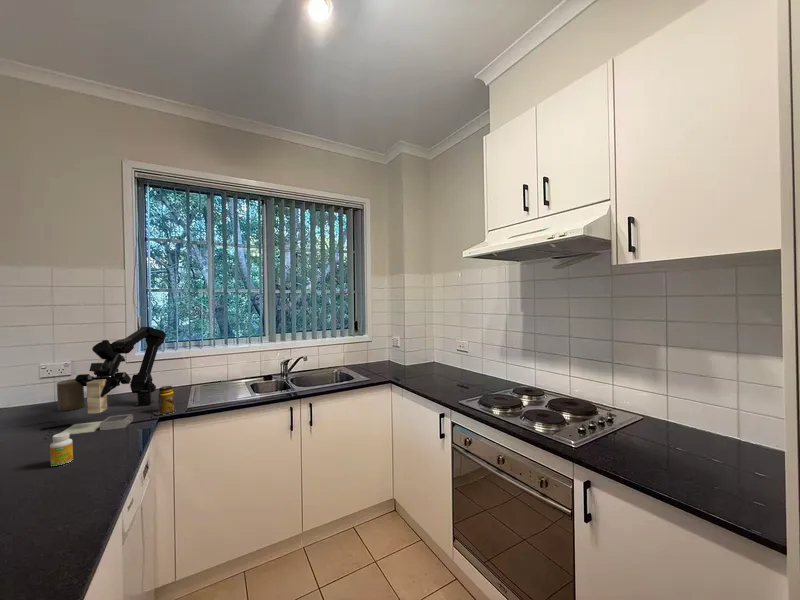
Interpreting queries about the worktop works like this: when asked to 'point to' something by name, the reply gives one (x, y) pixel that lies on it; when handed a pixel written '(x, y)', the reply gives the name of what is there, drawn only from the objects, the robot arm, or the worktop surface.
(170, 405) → the condiment
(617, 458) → the worktop surface
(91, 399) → the block
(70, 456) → the supplement bottle
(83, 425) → the mat
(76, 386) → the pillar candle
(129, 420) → the collar
